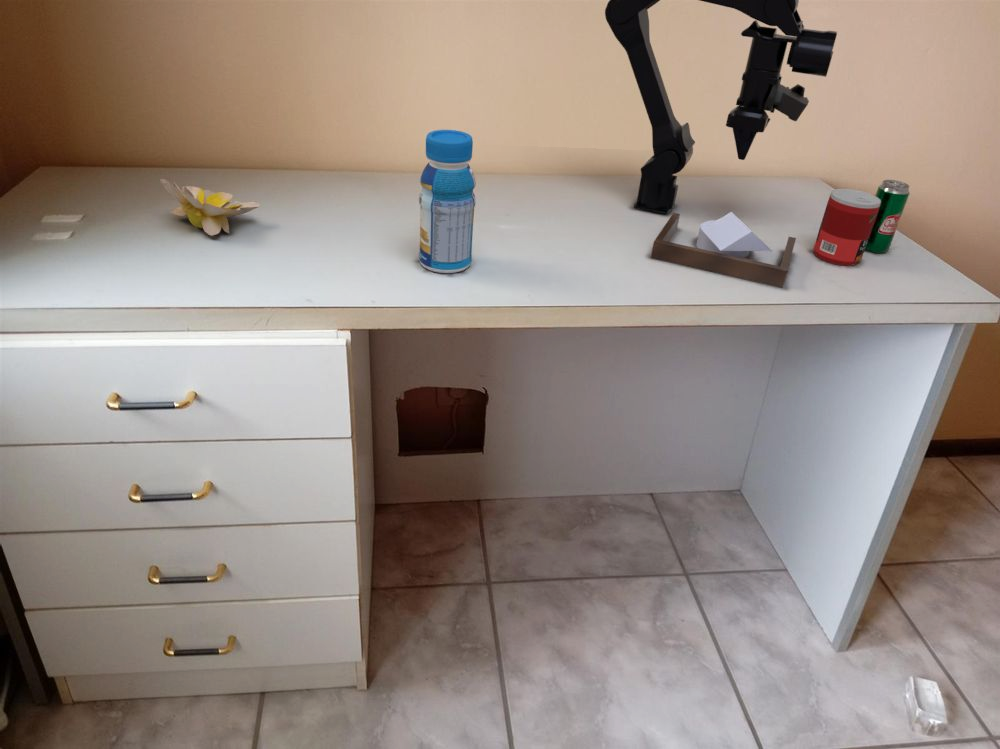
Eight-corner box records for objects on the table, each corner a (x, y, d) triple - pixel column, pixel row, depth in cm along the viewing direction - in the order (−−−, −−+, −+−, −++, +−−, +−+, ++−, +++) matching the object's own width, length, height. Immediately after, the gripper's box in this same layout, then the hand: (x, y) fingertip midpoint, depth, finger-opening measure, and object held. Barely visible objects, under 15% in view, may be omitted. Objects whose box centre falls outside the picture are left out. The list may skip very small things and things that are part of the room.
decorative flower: (275, 220, 127) (254, 163, 121) (216, 252, 122) (191, 194, 115) (229, 200, 136) (207, 146, 130) (171, 229, 130) (145, 174, 124)
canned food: (864, 269, 132) (886, 207, 126) (815, 262, 133) (834, 200, 127) (855, 251, 138) (876, 192, 132) (809, 245, 139) (827, 185, 133)
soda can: (874, 255, 137) (898, 190, 131) (852, 244, 141) (874, 180, 134) (894, 252, 139) (918, 187, 133) (871, 241, 143) (893, 177, 136)
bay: (650, 258, 129) (653, 241, 128) (670, 228, 141) (673, 212, 140) (782, 287, 123) (787, 270, 122) (791, 253, 135) (796, 237, 134)
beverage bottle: (451, 280, 117) (456, 148, 106) (407, 264, 121) (407, 135, 110) (482, 262, 124) (490, 135, 113) (439, 247, 127) (442, 123, 116)
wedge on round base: (767, 269, 129) (736, 238, 139) (778, 231, 125) (745, 202, 136) (716, 269, 127) (689, 237, 138) (725, 231, 124) (696, 201, 134)
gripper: (808, 85, 121) (782, 182, 130) (816, 65, 136) (792, 154, 144) (736, 74, 125) (715, 169, 133) (752, 56, 139) (732, 143, 148)
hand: (741, 159), depth 139 cm, fingers closed
